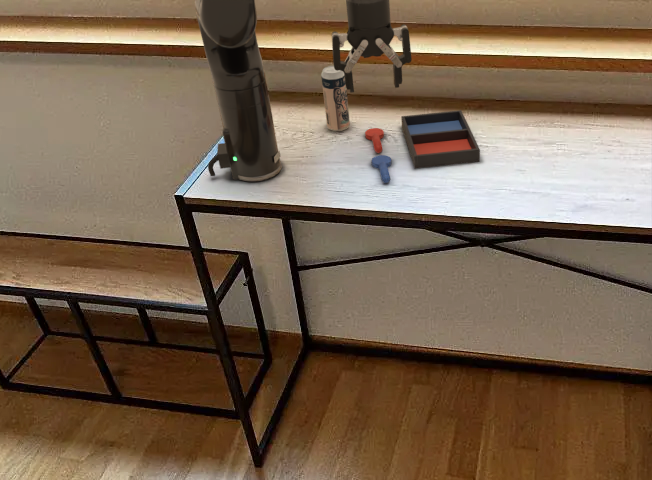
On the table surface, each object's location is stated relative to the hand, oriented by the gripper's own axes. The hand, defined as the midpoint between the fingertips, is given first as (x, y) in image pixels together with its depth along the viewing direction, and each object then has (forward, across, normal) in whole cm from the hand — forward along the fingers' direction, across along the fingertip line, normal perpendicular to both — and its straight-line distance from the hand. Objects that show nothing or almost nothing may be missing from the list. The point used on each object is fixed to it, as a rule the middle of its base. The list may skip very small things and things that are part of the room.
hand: (374, 88), depth 133 cm
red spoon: (+12, 0, +2) cm, 12 cm away
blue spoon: (+12, 0, -10) cm, 16 cm away
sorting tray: (+12, +12, -1) cm, 17 cm away
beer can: (+12, -7, +11) cm, 18 cm away
